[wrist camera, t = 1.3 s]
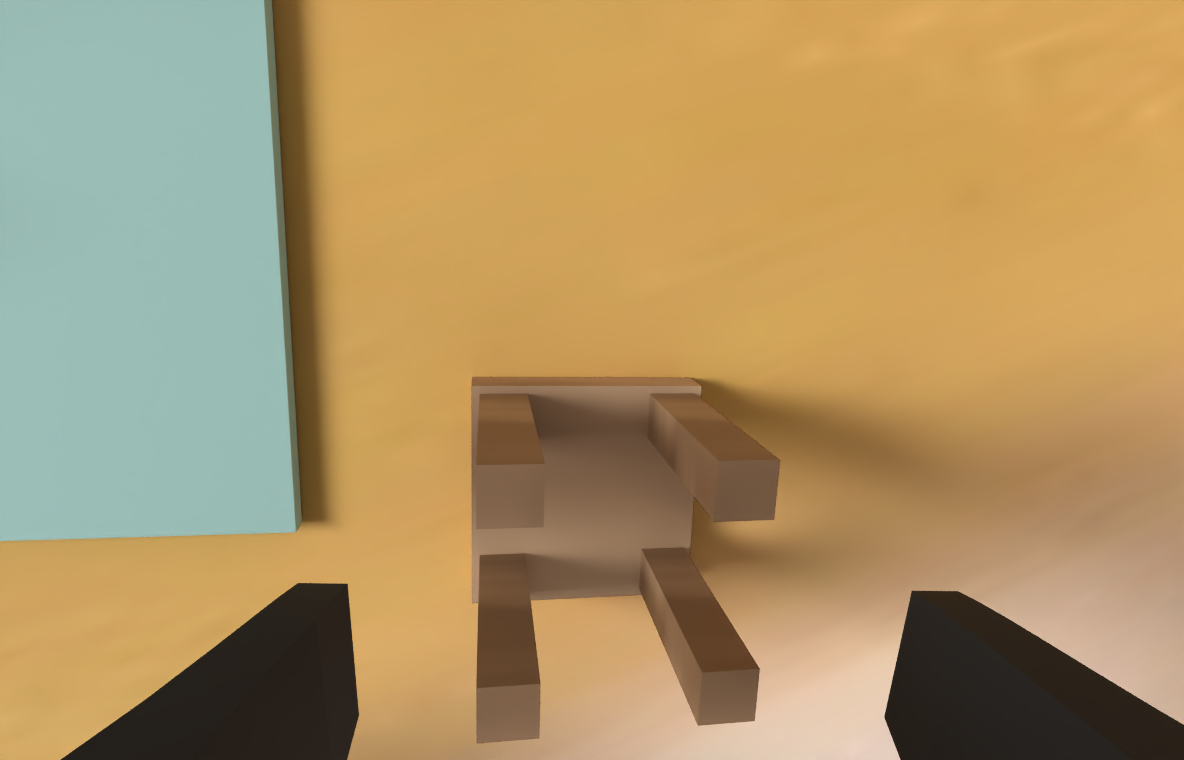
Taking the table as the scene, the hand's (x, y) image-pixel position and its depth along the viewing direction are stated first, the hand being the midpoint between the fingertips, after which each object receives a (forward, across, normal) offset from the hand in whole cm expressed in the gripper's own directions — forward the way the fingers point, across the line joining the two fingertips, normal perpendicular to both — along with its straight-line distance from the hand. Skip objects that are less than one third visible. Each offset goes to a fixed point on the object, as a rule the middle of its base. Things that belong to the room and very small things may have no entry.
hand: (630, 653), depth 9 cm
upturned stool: (+10, 0, +3) cm, 11 cm away
